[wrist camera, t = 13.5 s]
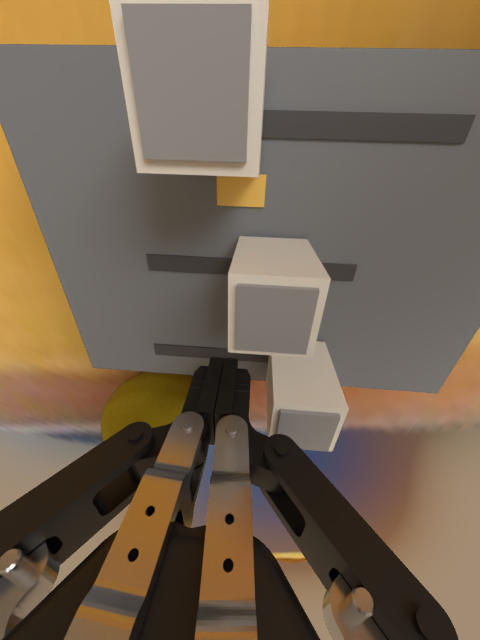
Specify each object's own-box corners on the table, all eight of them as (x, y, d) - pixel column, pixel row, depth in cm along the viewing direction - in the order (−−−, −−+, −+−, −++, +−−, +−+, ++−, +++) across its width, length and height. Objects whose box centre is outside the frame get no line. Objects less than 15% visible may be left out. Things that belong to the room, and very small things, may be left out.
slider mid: (307, 239, 11) (332, 281, 7) (297, 299, 13) (313, 362, 9) (239, 236, 11) (227, 276, 7) (238, 296, 13) (227, 356, 9)
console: (498, 95, 13) (660, 50, 8) (392, 341, 21) (434, 399, 16) (78, 87, 14) (-33, 42, 9) (133, 324, 22) (93, 373, 17)
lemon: (143, 412, 28) (105, 489, 22) (108, 359, 25) (49, 434, 18) (235, 401, 26) (226, 484, 20) (213, 343, 22) (192, 421, 16)
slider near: (266, 66, 8) (270, -23, 4) (259, 171, 10) (258, 177, 6) (176, 65, 8) (100, -23, 4) (184, 168, 10) (133, 172, 6)
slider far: (325, 341, 14) (350, 413, 10) (314, 380, 16) (333, 455, 12) (270, 338, 14) (274, 407, 10) (266, 377, 16) (267, 449, 12)
